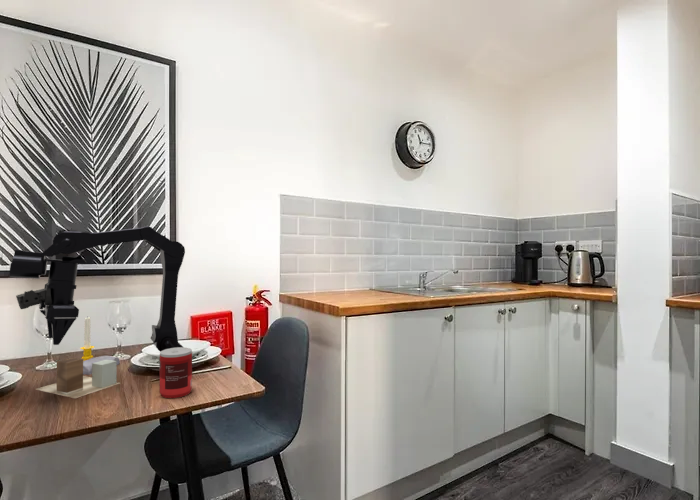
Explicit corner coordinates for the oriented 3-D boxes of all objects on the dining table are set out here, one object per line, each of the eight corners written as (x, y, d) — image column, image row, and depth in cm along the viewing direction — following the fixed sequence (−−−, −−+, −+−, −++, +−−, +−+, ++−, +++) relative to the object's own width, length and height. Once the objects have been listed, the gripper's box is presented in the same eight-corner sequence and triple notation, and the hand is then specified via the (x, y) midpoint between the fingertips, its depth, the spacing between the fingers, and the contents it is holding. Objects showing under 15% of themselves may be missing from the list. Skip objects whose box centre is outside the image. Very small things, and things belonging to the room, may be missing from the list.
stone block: (63, 382, 114) (91, 377, 113) (61, 366, 115) (89, 361, 113) (96, 371, 126) (123, 367, 124) (94, 356, 126) (120, 352, 125)
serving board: (120, 385, 106) (120, 382, 106) (74, 401, 95) (74, 398, 95) (82, 378, 112) (82, 375, 112) (35, 392, 101) (35, 389, 101)
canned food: (178, 386, 106) (178, 345, 106) (198, 391, 102) (198, 349, 102) (152, 395, 99) (152, 352, 99) (173, 401, 96) (173, 356, 96)
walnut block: (82, 389, 101) (83, 359, 101) (66, 395, 97) (66, 363, 97) (73, 387, 102) (73, 357, 102) (56, 392, 98) (56, 361, 98)
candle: (82, 367, 123) (82, 318, 123) (74, 364, 126) (74, 316, 126) (100, 363, 127) (100, 315, 127) (92, 360, 130) (92, 314, 130)
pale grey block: (116, 383, 106) (116, 361, 106) (102, 387, 102) (102, 365, 102) (106, 381, 107) (106, 359, 107) (91, 385, 104) (92, 363, 104)
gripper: (18, 275, 101) (10, 336, 100) (24, 281, 87) (14, 351, 87) (70, 278, 109) (63, 334, 108) (82, 283, 95) (74, 347, 94)
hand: (53, 341), depth 99 cm, fingers open, 9 cm apart
